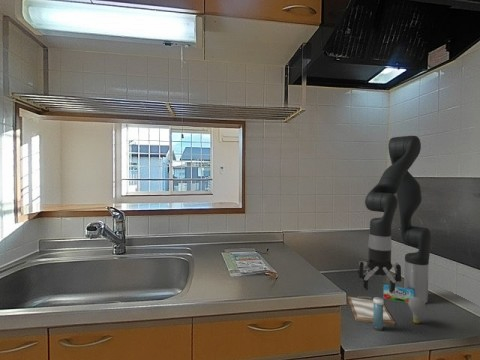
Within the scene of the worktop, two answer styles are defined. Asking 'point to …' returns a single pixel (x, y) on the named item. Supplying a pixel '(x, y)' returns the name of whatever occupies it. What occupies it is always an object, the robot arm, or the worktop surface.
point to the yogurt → (398, 294)
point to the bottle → (378, 313)
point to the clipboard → (367, 310)
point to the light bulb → (416, 308)
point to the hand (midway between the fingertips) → (378, 290)
